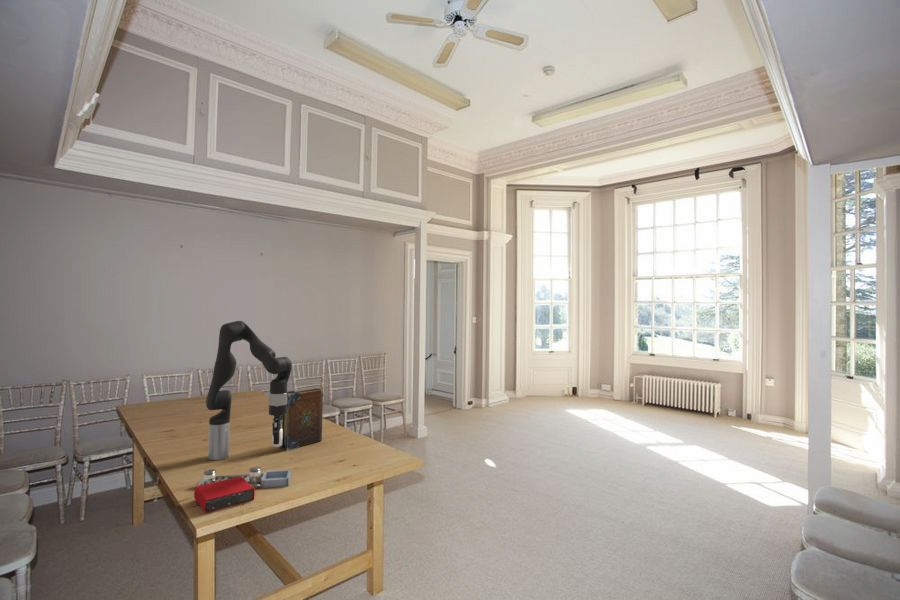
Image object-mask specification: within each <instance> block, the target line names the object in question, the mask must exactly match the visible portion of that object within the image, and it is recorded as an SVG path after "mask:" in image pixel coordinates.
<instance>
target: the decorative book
mask: <svg viewBox="0 0 900 600" xmlns="http://www.w3.org/2000/svg"><path fill="white" fill-rule="evenodd" d="M323 397H324V389H323V388H320V387H319V388H317V387H316V388H307V389H302V390H287V413H286V414H285V415H281V416H283V422H282V428H283V438H282V446H279V449H281V450H282V449H285V452H286V451H287V452H288V451H293V450H296V449H298V448H299V447H303V446H307V445H310V444H314V443H317V442H321V441H322V440H323V439H322V437H323V406H324V405H323V401H324V398H323Z"/></svg>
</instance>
